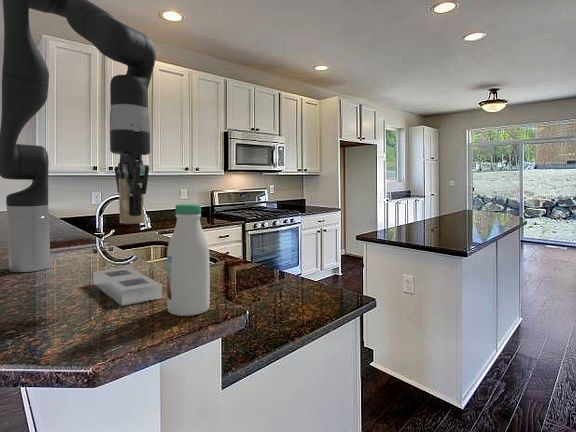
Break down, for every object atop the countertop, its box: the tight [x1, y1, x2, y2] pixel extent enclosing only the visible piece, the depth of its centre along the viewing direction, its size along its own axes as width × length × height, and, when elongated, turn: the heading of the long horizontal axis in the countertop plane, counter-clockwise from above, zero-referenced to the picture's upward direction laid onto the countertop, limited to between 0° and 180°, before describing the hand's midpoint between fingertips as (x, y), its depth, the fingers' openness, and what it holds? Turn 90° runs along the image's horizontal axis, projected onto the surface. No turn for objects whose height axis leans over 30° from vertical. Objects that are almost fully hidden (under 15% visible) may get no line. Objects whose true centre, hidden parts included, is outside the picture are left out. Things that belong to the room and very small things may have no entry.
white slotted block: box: [93, 266, 163, 307], centre depth 83 cm, size 20×8×3 cm, turn 41°
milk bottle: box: [166, 203, 211, 317], centre depth 70 cm, size 8×8×20 cm
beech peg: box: [118, 179, 145, 225], centre depth 77 cm, size 4×4×9 cm
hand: (131, 214), depth 78 cm, fingers closed on beech peg, 3 cm apart
